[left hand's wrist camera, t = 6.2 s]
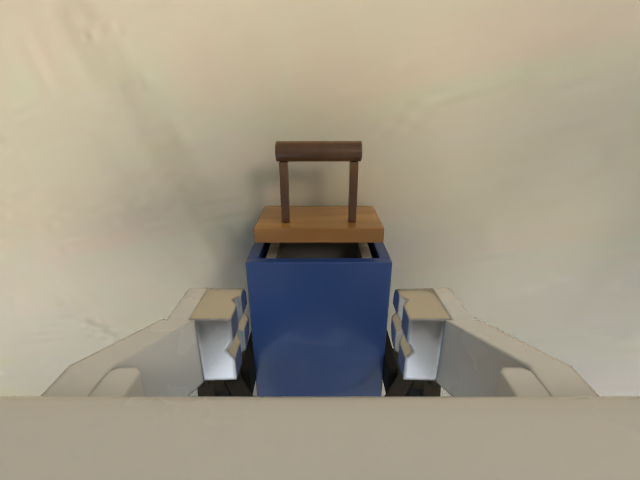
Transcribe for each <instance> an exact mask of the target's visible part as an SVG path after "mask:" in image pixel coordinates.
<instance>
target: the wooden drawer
mask: <svg viewBox="0 0 640 480" xmlns="http://www.w3.org/2000/svg"><path fill="white" fill-rule="evenodd" d="M275 154H276V160H277V161H280V162H279V167H280V191H281V206H265V208H264V210H263V212H262V214H261V216H260V217H259V219H258V221H257V223H256V225H255V227H254V239H255V243H271V245H270V248H269V250H268V253H267V256H266V258H372V256H371V253H370V250H369V247H368V244H367V243H383V237H384V227H383V225H382V223H381V221H380V219H379V217H378V215H377V213H376V211H375V209H374V207H373V206H357V184H358V161H361V159H362V142H361V141H276V145H275ZM288 161H350V168H349V202H348V206H289V176H288Z"/></svg>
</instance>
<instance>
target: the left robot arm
mask: <svg viewBox="0 0 640 480" xmlns="http://www.w3.org/2000/svg"><path fill="white" fill-rule="evenodd" d="M393 304H394V307H395V310H396V313H395V314H394V315H393V316H392V323H391V334H392V342H393V346H394V350H395V351H396V352H398V353H399V355H398V363H399V367H400V370H401V373H402V376H403V379H404V380H437V381H436V382H437V383H438V384H439V385H440V386H441V387H443V388H444V389H445V390H446V391H447V392H448V393H449V394H450V395H451V396H452V397H188V396H189V395H190V394H191V393H192V392H193V391H194V390H196V389H197V388H198V387H199V386H200V385H201V384H202V383H203V380H235V379H237V377H238V373H239V370H240V367H241V364H242V355H241V353H242V352H244V351H245V350H246V346H247V343H248V335H249V321H248V316H247V315H246V314H245V313H244V310H245V307H246V305H247V299H246V292H245V290H244V289H208V288H192V289H189V290H188V291H187V292H186V294H185V295H184V296H183V298H182V299H181V301H180V302H179V303H178V305H177V306H176V308H175V309H174V311H173V312H172V313H171V315H170V316H169V318H168V319H167V320H160V321H158V322H156V323H154V324H152V325H150V326H148V327H146V328H144V329H142V330H140V331H138V332H136V333H134V334H132V335H130V336H128V337H126V338H124V339H122V340H120V341H118V342H116V343H114V344H112V345H110V346H108V347H106V348H104V349H102V350H100V351H98V352H96V353H94V354H92V355H90V356H88V357H86V358H84V359H82V360H80V361H78V362H76V363H74V364H72V365H70V366H69V367H68V368H67V369H66V370H65V371H64V372H63V373H62V374H61V375H60V376H59V377H58V378H57V379H56V380H55V381H54V383H53V384H52V385H51V386H50V387H49V388H48V389H47V390H46V391H45V392H44V393H43V394H42V395H41V396H40V397H0V480H640V397H600V396H599V395H598V394H597V393H596V392H595V391H594V390H593V389H592V388H591V387H590V386H589V384H588V383H587V382H586V381H585V380H584V379H583V378H582V377H581V376H580V375H579V374H578V373H577V372H576V371H575V370H574V369H573V367H572V366H570V365H568V364H566V363H564V362H562V361H560V360H558V359H556V358H554V357H552V356H550V355H548V354H546V353H544V352H542V351H540V350H538V349H536V348H534V347H532V346H530V345H528V344H526V343H524V342H522V341H520V340H518V339H516V338H514V337H512V336H510V335H508V334H506V333H504V332H502V331H500V330H498V329H496V328H494V327H492V326H490V325H488V324H486V323H484V322H482V321H480V320H473V319H472V318H471V316H470V315H469V313H468V312H467V311H466V309H465V308H464V306H463V305H462V304H461V302H460V301H459V299H458V298H457V297H456V295H455V294H454V292H453V291H452V290H451V289H449V288H438V289H432V288H431V289H397V290H395V293H394V299H393Z"/></svg>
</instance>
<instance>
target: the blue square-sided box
mask: <svg viewBox="0 0 640 480" xmlns="http://www.w3.org/2000/svg"><path fill="white" fill-rule="evenodd" d="M367 244H368V247H369V250H370V253H371V256H372V258H266V256H267V253H268V250H269V248H270V245H271V243H255V244H254V246H253V248H252V250H251V253H250V255H249V257H248V259H247V262H246V270H247V281H248V293H249V305H250V316H251V328H252V340H253V351H254V362H255V374H256V386H257V396H381V392H382V380H383V367H384V355H385V343H386V330H387V318H388V306H389V293H390V281H391V269H392V262H391V259H390V257H389V255H388V252H387V250H386V248H385V246H384V243H367Z"/></svg>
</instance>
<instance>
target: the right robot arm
mask: <svg viewBox="0 0 640 480" xmlns="http://www.w3.org/2000/svg"><path fill="white" fill-rule="evenodd" d="M241 355H242V364H241V367H240V370H239V373H238V377H237V379H235V380H203V383H202V384H201V385H200V386H199V387H198V397H254V396H253V395H252V394H253V389H254V385H255V381H256V374H255V362H254V351H253V340H252V330H251V334H250V337H249V340H248V344H247V347H246V350H245V351H244V352H242V353H241ZM398 355H399V353H398V352H396V351H395V350H394V349H392V346H391V342H390V339H389V335H388V332H387V330H386V343H385V355H384V367H383V383H384V387H385V391H386V395H385V396H384V397H440V390H441V386H440V385H439V384H438V383H437V382H436V381H437V380H404V379H403V376H402V373H401V370H400V367H399V363H398Z"/></svg>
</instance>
